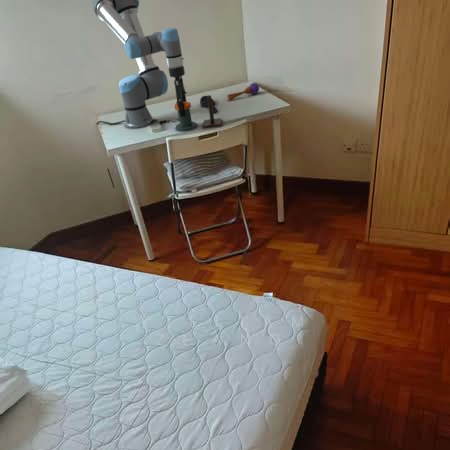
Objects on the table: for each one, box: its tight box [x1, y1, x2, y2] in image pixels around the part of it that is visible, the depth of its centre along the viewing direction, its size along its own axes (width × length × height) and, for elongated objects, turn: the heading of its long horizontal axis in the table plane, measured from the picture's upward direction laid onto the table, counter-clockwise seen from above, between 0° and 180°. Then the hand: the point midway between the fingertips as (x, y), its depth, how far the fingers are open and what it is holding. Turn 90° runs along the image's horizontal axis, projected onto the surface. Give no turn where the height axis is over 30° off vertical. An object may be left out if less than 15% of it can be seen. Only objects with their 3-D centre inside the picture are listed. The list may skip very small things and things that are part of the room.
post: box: [203, 94, 222, 129], centre depth 214 cm, size 9×9×14 cm
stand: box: [175, 108, 198, 132], centre depth 216 cm, size 11×11×10 cm
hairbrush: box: [199, 94, 218, 114], centre depth 239 cm, size 8×4×25 cm
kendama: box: [226, 82, 260, 102], centre depth 246 cm, size 6×6×20 cm
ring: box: [174, 101, 192, 111], centre depth 213 cm, size 8×8×2 cm
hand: (184, 112), depth 215 cm, fingers open, 13 cm apart
